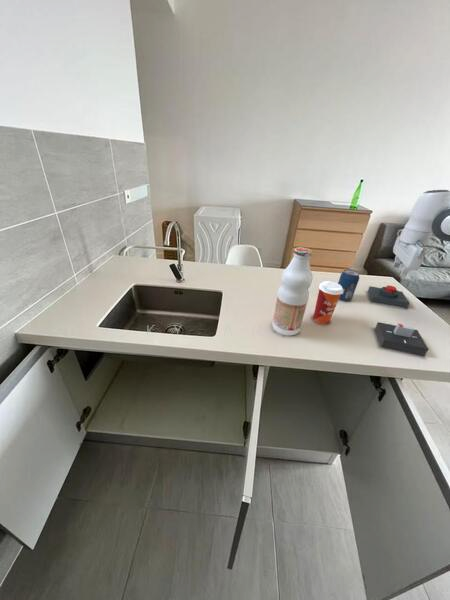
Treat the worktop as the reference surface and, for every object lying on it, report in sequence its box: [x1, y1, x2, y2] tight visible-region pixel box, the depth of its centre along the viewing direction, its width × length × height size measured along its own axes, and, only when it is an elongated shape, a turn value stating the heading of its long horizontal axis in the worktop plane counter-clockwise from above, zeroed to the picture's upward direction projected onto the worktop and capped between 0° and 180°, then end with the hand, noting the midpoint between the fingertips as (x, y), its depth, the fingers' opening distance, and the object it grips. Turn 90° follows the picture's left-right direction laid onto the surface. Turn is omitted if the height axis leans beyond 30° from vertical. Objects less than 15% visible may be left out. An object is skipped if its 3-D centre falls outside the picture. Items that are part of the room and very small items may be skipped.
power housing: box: [367, 285, 410, 309], centre depth 103 cm, size 13×10×4 cm
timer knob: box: [393, 323, 416, 337], centre depth 77 cm, size 4×2×3 cm, turn 72°
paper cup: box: [313, 280, 343, 325], centre depth 85 cm, size 8×8×14 cm
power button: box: [385, 285, 397, 293], centre depth 101 cm, size 4×4×2 cm
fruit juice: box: [272, 246, 314, 336], centre depth 76 cm, size 9×9×28 cm
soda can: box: [337, 268, 360, 302], centre depth 100 cm, size 7×7×12 cm
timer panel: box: [374, 321, 429, 357], centre depth 79 cm, size 12×10×3 cm
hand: (398, 271), depth 97 cm, fingers open, 8 cm apart
